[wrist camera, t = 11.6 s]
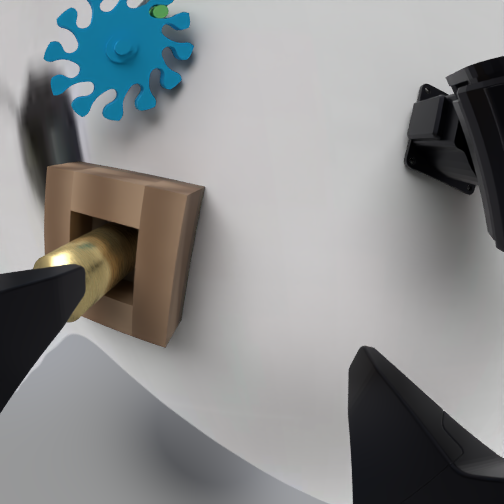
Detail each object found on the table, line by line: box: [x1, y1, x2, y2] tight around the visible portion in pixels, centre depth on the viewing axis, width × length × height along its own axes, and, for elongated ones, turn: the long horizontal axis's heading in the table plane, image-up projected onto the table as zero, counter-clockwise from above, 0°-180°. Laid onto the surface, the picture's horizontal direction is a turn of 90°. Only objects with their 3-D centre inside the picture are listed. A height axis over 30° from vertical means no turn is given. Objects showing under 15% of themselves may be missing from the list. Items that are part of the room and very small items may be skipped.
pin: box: [33, 222, 139, 322], centre depth 17 cm, size 4×4×8 cm
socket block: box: [44, 162, 205, 347], centre depth 20 cm, size 11×11×4 cm
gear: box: [44, 0, 194, 121], centre depth 15 cm, size 11×6×10 cm
